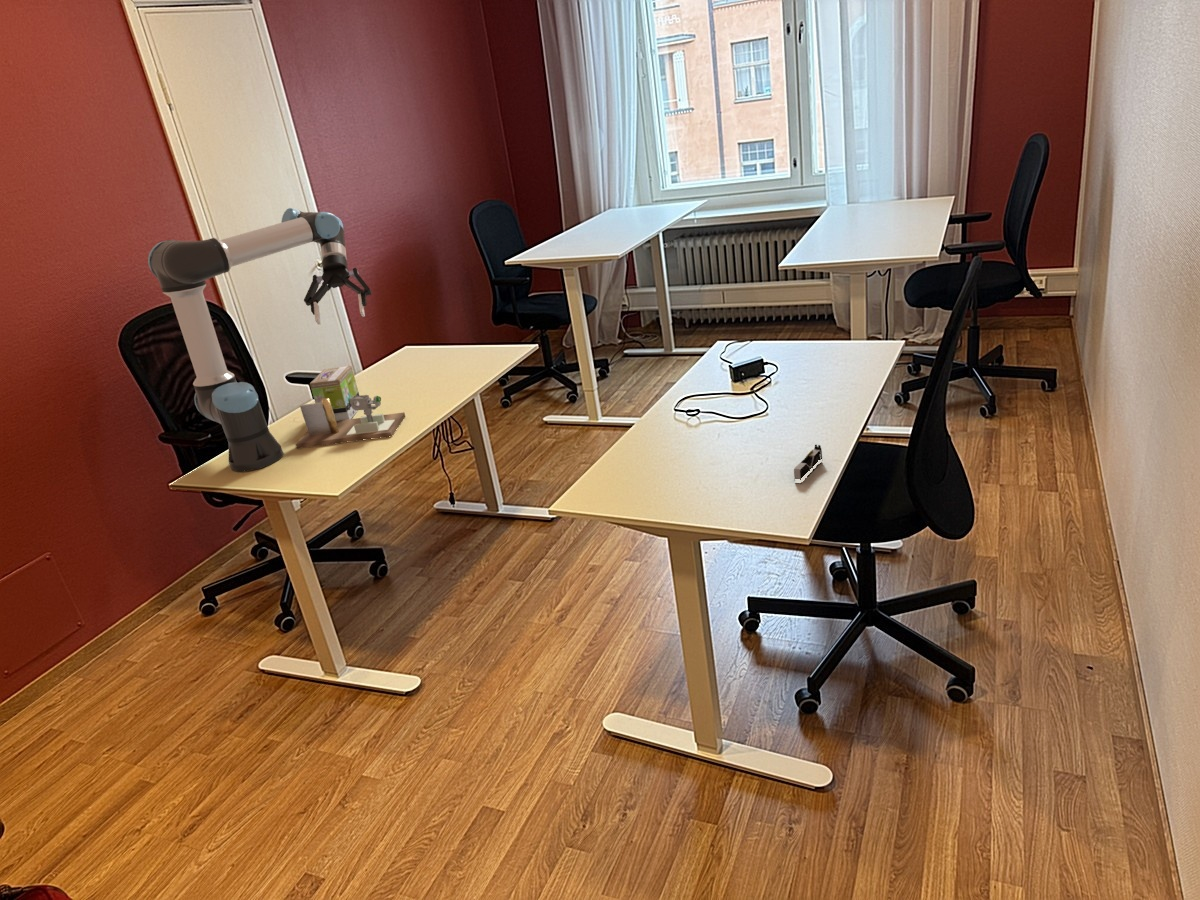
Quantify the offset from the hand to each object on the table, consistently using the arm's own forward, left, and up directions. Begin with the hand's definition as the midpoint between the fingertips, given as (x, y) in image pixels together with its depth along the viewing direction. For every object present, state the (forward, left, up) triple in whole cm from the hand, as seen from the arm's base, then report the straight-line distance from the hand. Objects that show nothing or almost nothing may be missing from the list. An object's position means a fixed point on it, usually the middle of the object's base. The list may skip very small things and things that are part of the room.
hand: (340, 318), depth 246 cm
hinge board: (-2, -10, -34) cm, 35 cm away
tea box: (-11, +7, -34) cm, 37 cm away
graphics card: (+126, -72, -34) cm, 149 cm away
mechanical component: (+5, -12, -32) cm, 35 cm away
